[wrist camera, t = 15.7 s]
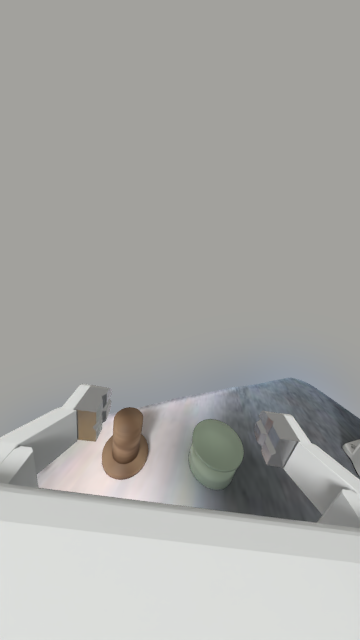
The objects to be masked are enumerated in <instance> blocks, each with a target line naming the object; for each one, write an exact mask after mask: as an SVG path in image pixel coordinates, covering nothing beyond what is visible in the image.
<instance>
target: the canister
mask: <svg viewBox="0 0 360 640" xmlns="http://www.w3.org/2000/svg"><path fill="white" fill-rule="evenodd" d="M243 454H244V451H243V446H242V443H241V440H240V438H239V437H238V435H237V434H236V433H235V431H234V430H233V429H232V428H230V427H229V426H228V425H226V424H225V423H223V422H221V421H218V420H213V419H208V420H203V421H201V422H200V423H198V424H197V425H196V427H195V429H194V432H193V436H192V445H191V449H190V452H189V465H190V469H191V471H192V473H193V475H194V477H195V478H196V479H197V480H198V481H199V482H200V483H201V484H202V485H203V486H205V487H207V488H209V489H212V490H221V489H224V488H226V487H227V486H228V485H229V484H230V482H231V480H232V478H233V476H234V473H235V471H236V469H237V468H238V467H239V466H240V464H241V462H242V459H243Z"/></svg>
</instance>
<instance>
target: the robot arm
mask: <svg viewBox="0 0 360 640" xmlns="http://www.w3.org/2000/svg"><path fill="white" fill-rule="evenodd" d="M111 394H112V389H111V388H106V387H100V386H94V385H87V384H81V385H80V386H79V387H78V388H77V389H76V391H75V392H74V393H73V394H72V396H71V397H70V398H69V399H68V400H67V402H66V403H65V404H64V405H63V407H62V408H56V409H55V410H53V411H51V412H49V413H47V414H45V415H43V416H41V417H39V418H37V419H35V420H33V421H31V422H29V423H27V424H25V425H24V426H22V427H20V428H18V429H16V430H14V431H12V432H10V433H8V434H6V435H4V436H2V437H0V640H360V480H359V479H358V478H357V477H355V476H354V475H353V474H352V473H350V472H349V471H348V470H347V469H345V468H344V467H343V466H342V465H340V464H339V463H338V462H336V461H335V460H334V459H333V458H331V457H330V456H329V455H328V454H326V453H325V452H324V451H323V450H321V449H320V448H319V447H317V446H316V445H315V444H311V442H310V441H309V439H308V438H307V436H306V435H305V433H304V432H303V430H302V429H301V428H300V426H299V425H298V423H297V422H296V420H295V419H294V417H293V416H292V415H290V414H283V413H275V412H268V411H262V412H261V413H260V415H259V417H260V419H261V420H259V421H258V422H256V425H255V437H256V440H257V442H258V443H259V444H260V445H261V446H262V449H261V452H262V455H263V457H264V460H265V462H266V465H270V466H276V467H282V468H284V470H285V471H286V472H287V474H288V475H289V476H290V477H291V478H292V480H293V481H294V482H295V483H296V484H297V485H298V487H299V488H300V489H301V490H302V491H303V493H304V494H305V495H306V496H307V497H308V499H309V500H310V501H311V502H312V503H313V504H314V506H315V507H316V508H317V509H318V510H319V512H320V513H321V514H322V516H321V518H320V519H319V520H318V522H317V523H314V522H306V521H298V520H290V519H282V518H274V517H266V516H259V515H251V514H243V513H235V512H227V511H219V510H211V509H203V508H195V507H187V506H179V505H171V504H163V503H155V502H147V501H139V500H131V499H123V498H115V497H107V496H99V495H92V494H84V493H76V492H68V491H60V490H52V489H44V488H39V487H38V481H37V474H38V473H39V472H41V471H42V470H43V469H44V468H45V467H47V466H48V465H49V464H50V463H51V462H53V461H54V460H55V459H56V458H57V457H59V456H60V455H61V454H62V453H63V452H65V451H66V450H67V449H68V448H69V447H71V446H72V445H73V444H74V443H75V442H77V440H86V441H96V440H97V438H98V436H99V434H100V432H101V430H102V423H103V422H105V421H106V419H107V417H108V415H109V412H110V408H111V400H110V399H109V398H110V396H111ZM342 447H343V449H344V451H345V452H346V454H347V455H348V456H349V457H350V459H351V460H352V462H353V465H354V467H355V469H356V471H357V473H358V475H359V476H360V439H359V440H355V441H352V442H349V443H345V444H344V445H343V446H342Z"/></svg>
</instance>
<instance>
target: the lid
mask: <svg viewBox="0 0 360 640" xmlns="http://www.w3.org/2000/svg"><path fill="white" fill-rule="evenodd" d="M142 423H143V415H142V413H141V412H140V411H139V410H138V409H136V408H130V407H129V408H124V409H122V410H120V411H119V412H118V413H117V414H116V415H115V417H114V425H113V436H112V437H111V438H110V439H109V440H108V441H107V442H106V444H105V446H104V449H103V452H102V465H103V468H104V470H105V472H106V473H107V474H108V475H109V476H110V477H112V478H114V479H118V480H123V479H128V478H130V477H132V476H134V475H136V474H137V473H138V472H139V471H140V470H141V469H142V467H143V466H144V464H145V462H146V459H147V454H148V444H147V441H146V439H145V437H144V436H143V435H142V434H141V431H142Z"/></svg>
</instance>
